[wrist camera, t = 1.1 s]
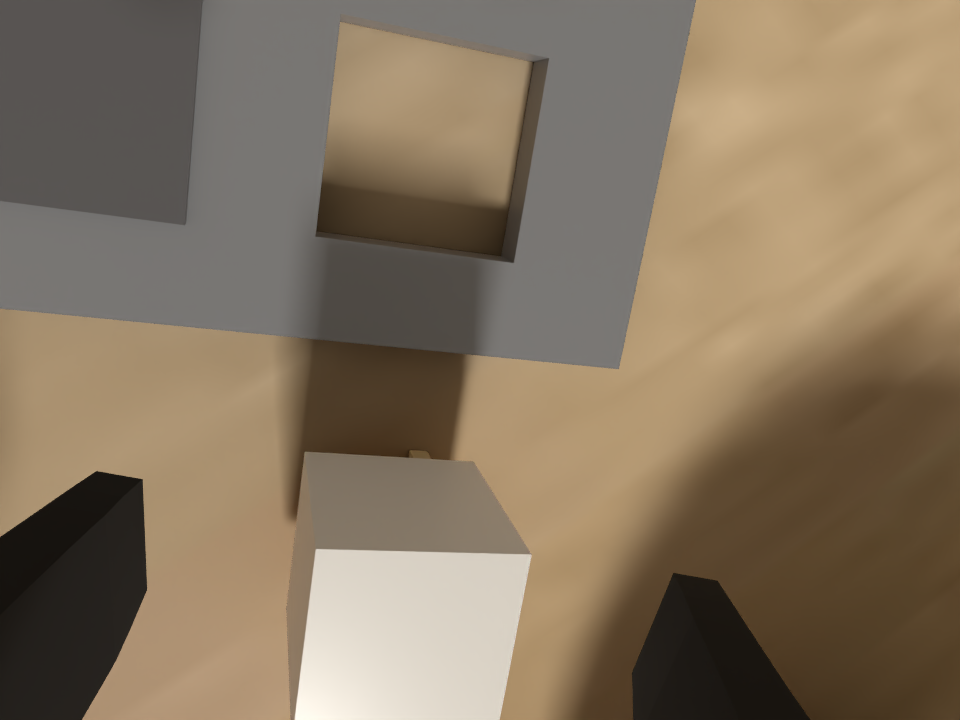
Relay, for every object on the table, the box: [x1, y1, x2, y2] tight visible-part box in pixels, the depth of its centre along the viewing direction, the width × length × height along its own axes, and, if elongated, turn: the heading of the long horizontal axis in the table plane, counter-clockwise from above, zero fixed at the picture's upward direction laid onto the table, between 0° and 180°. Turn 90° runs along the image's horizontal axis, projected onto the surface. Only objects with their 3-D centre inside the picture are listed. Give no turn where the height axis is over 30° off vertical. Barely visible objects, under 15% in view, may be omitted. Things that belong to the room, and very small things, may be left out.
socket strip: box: [0, 0, 696, 369], centre depth 18 cm, size 10×20×2 cm, turn 80°
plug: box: [286, 450, 532, 720], centre depth 19 cm, size 4×4×7 cm
